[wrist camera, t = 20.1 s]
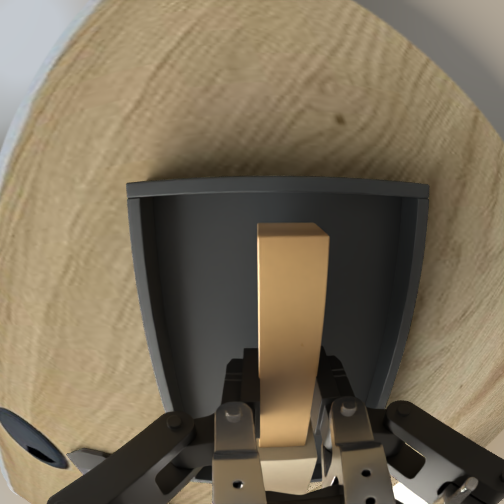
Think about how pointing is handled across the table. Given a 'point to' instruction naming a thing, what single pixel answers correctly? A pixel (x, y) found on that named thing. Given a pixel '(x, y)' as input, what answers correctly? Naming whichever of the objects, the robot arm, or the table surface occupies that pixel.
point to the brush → (289, 348)
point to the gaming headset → (86, 459)
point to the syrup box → (406, 495)
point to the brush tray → (246, 277)
